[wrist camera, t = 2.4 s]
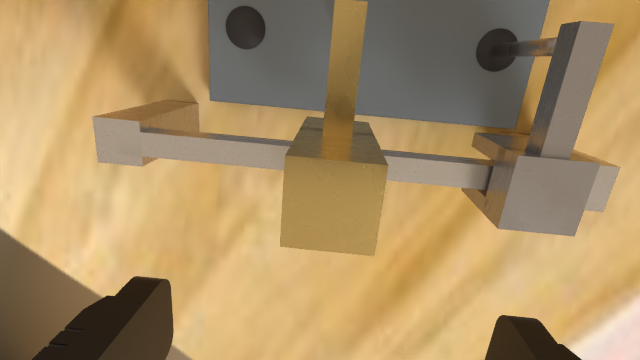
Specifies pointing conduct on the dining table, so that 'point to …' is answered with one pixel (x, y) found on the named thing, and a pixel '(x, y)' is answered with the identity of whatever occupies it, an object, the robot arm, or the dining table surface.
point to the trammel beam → (467, 173)
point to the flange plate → (378, 57)
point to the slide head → (336, 158)
